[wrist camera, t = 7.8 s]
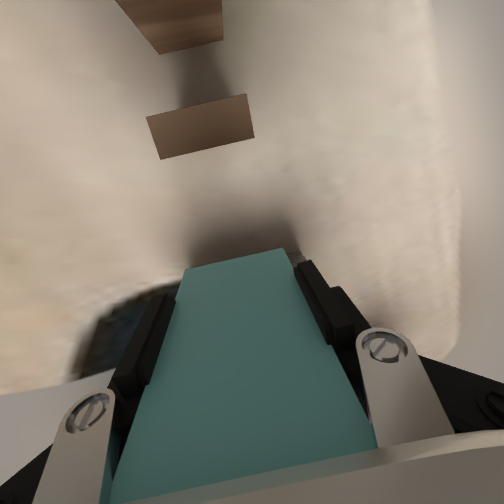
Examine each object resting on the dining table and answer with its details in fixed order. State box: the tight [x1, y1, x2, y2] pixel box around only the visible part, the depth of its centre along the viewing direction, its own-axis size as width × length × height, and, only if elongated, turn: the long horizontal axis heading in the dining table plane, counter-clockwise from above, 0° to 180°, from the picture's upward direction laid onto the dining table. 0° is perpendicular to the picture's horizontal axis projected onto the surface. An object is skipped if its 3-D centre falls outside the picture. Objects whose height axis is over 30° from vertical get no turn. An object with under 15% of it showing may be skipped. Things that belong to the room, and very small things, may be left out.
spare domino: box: [110, 248, 376, 504], centre depth 9 cm, size 2×5×10 cm, turn 102°
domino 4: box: [146, 94, 255, 160], centre depth 17 cm, size 2×5×10 cm, turn 102°
